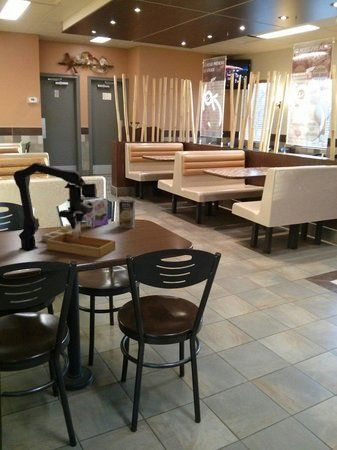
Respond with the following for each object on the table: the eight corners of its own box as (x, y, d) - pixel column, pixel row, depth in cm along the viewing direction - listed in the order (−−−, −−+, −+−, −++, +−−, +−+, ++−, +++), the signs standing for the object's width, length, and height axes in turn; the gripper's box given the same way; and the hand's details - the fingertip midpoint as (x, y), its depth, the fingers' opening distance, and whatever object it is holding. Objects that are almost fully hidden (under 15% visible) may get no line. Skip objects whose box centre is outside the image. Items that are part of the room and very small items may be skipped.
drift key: (67, 236, 225) (67, 228, 224) (60, 235, 227) (60, 226, 226) (69, 236, 226) (69, 227, 225) (62, 234, 228) (62, 226, 227)
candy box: (92, 228, 245) (91, 201, 241) (85, 226, 248) (84, 200, 244) (108, 223, 255) (108, 198, 251) (102, 222, 259) (101, 197, 255)
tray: (115, 250, 204) (115, 239, 203) (99, 259, 191) (98, 248, 189) (65, 242, 216) (64, 232, 214) (46, 250, 202) (46, 240, 201)
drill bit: (77, 240, 200) (76, 222, 198) (71, 239, 202) (70, 221, 199) (82, 238, 204) (82, 220, 201) (76, 237, 205) (75, 219, 203)
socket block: (56, 243, 213) (56, 237, 213) (42, 240, 217) (41, 235, 217) (75, 235, 227) (75, 230, 226) (61, 233, 231) (61, 228, 231)
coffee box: (118, 227, 247) (118, 201, 243) (120, 225, 253) (120, 199, 249) (133, 228, 246) (133, 202, 242) (135, 225, 252) (135, 200, 248)
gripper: (76, 201, 186) (77, 234, 190) (100, 195, 202) (100, 226, 206) (57, 199, 190) (58, 231, 194) (82, 193, 207) (83, 223, 211)
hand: (76, 228), depth 201 cm, fingers closed on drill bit, 4 cm apart
